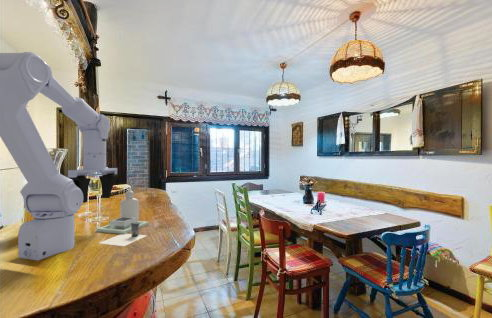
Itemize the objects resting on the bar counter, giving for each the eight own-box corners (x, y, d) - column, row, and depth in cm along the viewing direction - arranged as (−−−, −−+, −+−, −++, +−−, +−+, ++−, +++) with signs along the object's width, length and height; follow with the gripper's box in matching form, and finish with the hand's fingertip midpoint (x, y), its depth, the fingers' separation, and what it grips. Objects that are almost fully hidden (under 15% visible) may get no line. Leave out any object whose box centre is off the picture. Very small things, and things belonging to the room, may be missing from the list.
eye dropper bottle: (123, 221, 82) (123, 187, 82) (140, 220, 83) (139, 187, 83) (118, 224, 78) (118, 189, 78) (136, 223, 79) (136, 188, 79)
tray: (124, 237, 65) (124, 231, 65) (96, 234, 67) (96, 228, 67) (148, 227, 74) (148, 221, 74) (123, 225, 77) (123, 219, 77)
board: (124, 250, 56) (124, 246, 56) (98, 247, 58) (98, 243, 58) (147, 239, 63) (146, 235, 63) (123, 236, 65) (123, 233, 65)
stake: (136, 237, 62) (136, 224, 62) (129, 236, 63) (128, 224, 63) (141, 235, 64) (141, 222, 64) (133, 234, 64) (133, 222, 64)
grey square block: (109, 230, 69) (109, 220, 69) (123, 225, 74) (123, 216, 74) (124, 232, 68) (124, 222, 68) (137, 227, 73) (137, 217, 73)
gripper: (82, 153, 61) (82, 205, 61) (124, 154, 75) (125, 196, 75) (62, 154, 63) (62, 204, 63) (107, 154, 77) (107, 195, 77)
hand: (95, 200), depth 69 cm, fingers open, 7 cm apart
